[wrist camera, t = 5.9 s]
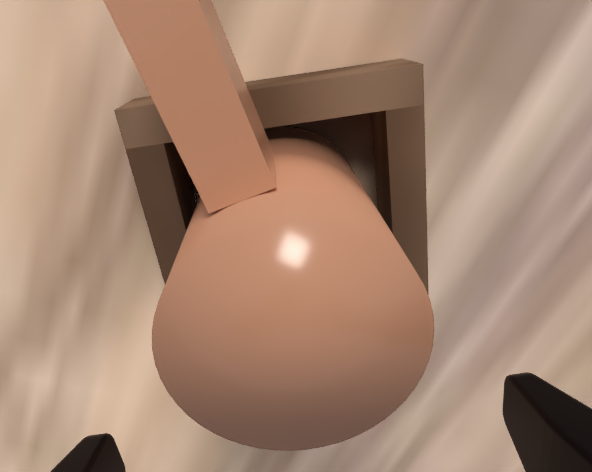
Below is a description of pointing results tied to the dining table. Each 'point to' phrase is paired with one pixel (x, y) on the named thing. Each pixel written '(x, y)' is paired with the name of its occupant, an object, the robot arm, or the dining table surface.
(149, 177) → the socket
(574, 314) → the dining table surface
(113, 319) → the dining table surface
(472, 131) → the dining table surface
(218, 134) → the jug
